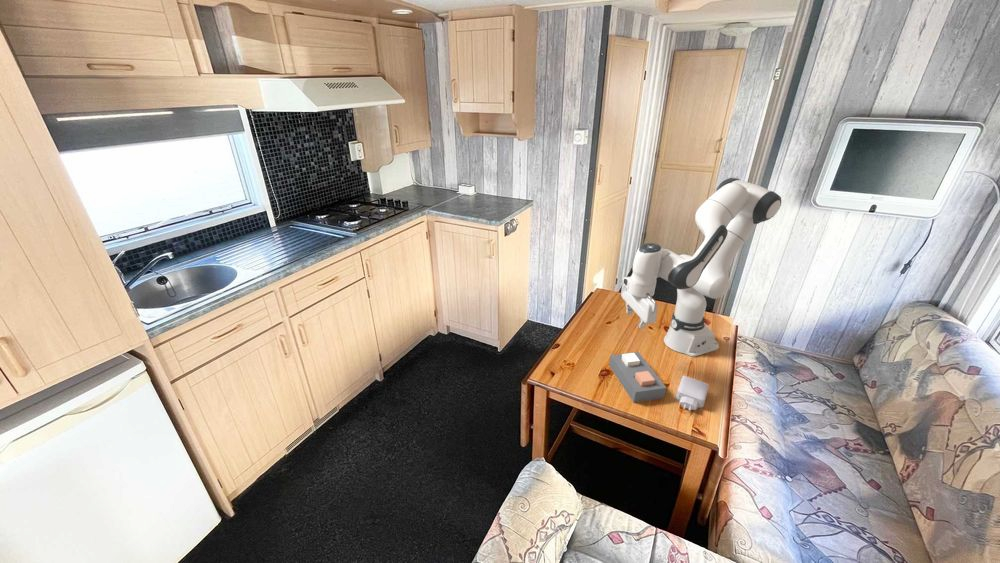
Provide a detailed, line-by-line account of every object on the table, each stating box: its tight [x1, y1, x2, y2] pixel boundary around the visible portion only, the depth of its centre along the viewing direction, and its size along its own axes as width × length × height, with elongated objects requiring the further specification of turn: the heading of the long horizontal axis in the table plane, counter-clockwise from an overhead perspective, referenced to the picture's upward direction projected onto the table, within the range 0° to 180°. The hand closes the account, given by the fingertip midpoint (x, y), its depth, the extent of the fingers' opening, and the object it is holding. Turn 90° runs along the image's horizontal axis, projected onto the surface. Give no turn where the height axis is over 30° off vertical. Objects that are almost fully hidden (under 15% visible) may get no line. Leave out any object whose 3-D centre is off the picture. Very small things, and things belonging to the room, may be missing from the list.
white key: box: [621, 352, 640, 367], centre depth 157 cm, size 5×5×3 cm
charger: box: [675, 375, 710, 412], centre depth 144 cm, size 5×9×15 cm
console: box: [608, 351, 667, 403], centre depth 153 cm, size 12×21×5 cm, turn 11°
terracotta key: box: [635, 371, 655, 387], centre depth 147 cm, size 5×5×3 cm
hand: (634, 320), depth 150 cm, fingers open, 8 cm apart
